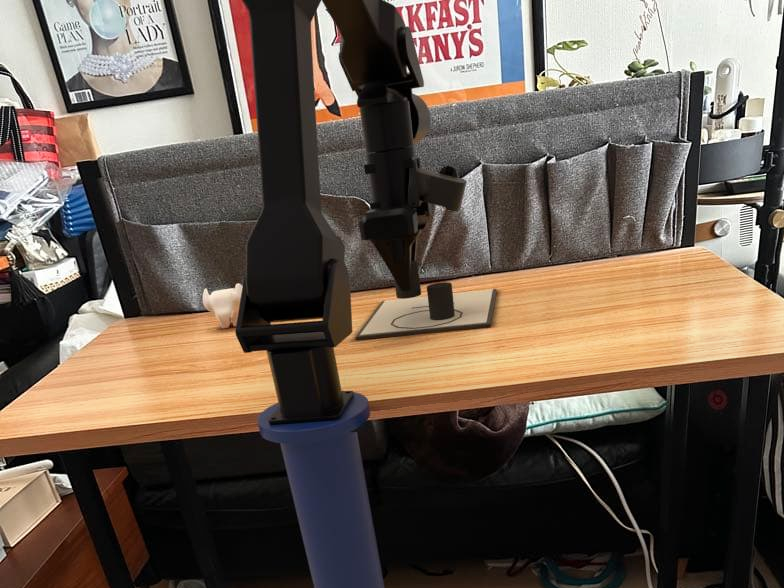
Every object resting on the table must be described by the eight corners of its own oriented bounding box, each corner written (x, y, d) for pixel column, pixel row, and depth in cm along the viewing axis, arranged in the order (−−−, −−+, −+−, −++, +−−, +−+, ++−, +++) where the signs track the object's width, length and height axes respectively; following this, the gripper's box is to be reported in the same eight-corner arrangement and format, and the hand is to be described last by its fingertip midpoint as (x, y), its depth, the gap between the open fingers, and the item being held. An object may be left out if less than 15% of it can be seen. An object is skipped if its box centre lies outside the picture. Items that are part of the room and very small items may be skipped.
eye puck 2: (453, 318, 92) (450, 286, 90) (428, 321, 92) (425, 289, 90) (455, 312, 94) (452, 281, 92) (431, 315, 95) (428, 283, 93)
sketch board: (490, 327, 88) (490, 322, 87) (355, 340, 91) (354, 335, 91) (496, 291, 105) (496, 287, 104) (382, 303, 108) (382, 299, 108)
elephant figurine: (205, 336, 105) (193, 294, 102) (215, 323, 112) (204, 283, 109) (250, 329, 105) (240, 286, 102) (257, 316, 112) (248, 277, 109)
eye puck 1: (419, 297, 91) (415, 263, 89) (394, 299, 92) (390, 266, 90) (422, 291, 94) (418, 259, 92) (398, 294, 94) (394, 262, 92)
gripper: (450, 143, 75) (464, 297, 83) (464, 137, 91) (474, 266, 98) (347, 158, 77) (370, 307, 85) (378, 150, 93) (395, 276, 101)
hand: (407, 287), depth 92 cm, fingers closed on eye puck 1, 3 cm apart
